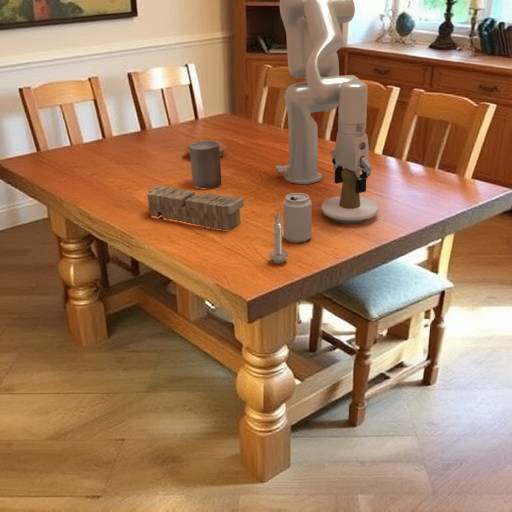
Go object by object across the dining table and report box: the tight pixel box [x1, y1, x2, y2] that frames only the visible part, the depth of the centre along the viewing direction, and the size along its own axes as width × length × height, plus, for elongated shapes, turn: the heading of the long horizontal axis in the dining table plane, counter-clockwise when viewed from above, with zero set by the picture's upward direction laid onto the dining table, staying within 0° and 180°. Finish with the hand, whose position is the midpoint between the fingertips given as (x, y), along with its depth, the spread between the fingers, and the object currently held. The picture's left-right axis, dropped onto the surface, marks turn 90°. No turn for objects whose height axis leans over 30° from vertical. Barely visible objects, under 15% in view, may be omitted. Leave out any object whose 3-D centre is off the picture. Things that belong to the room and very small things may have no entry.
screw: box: [268, 212, 289, 265], centre depth 167 cm, size 13×5×5 cm
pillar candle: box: [188, 140, 223, 189], centre depth 221 cm, size 10×10×15 cm
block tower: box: [147, 185, 245, 231], centre depth 195 cm, size 8×8×29 cm
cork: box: [339, 167, 361, 209], centre depth 191 cm, size 6×6×11 cm
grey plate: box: [321, 195, 379, 225], centre depth 194 cm, size 16×16×4 cm
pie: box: [184, 140, 227, 158], centre depth 253 cm, size 15×16×5 cm
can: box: [282, 192, 313, 244], centre depth 180 cm, size 8×8×12 cm
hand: (349, 187), depth 192 cm, fingers open, 9 cm apart
